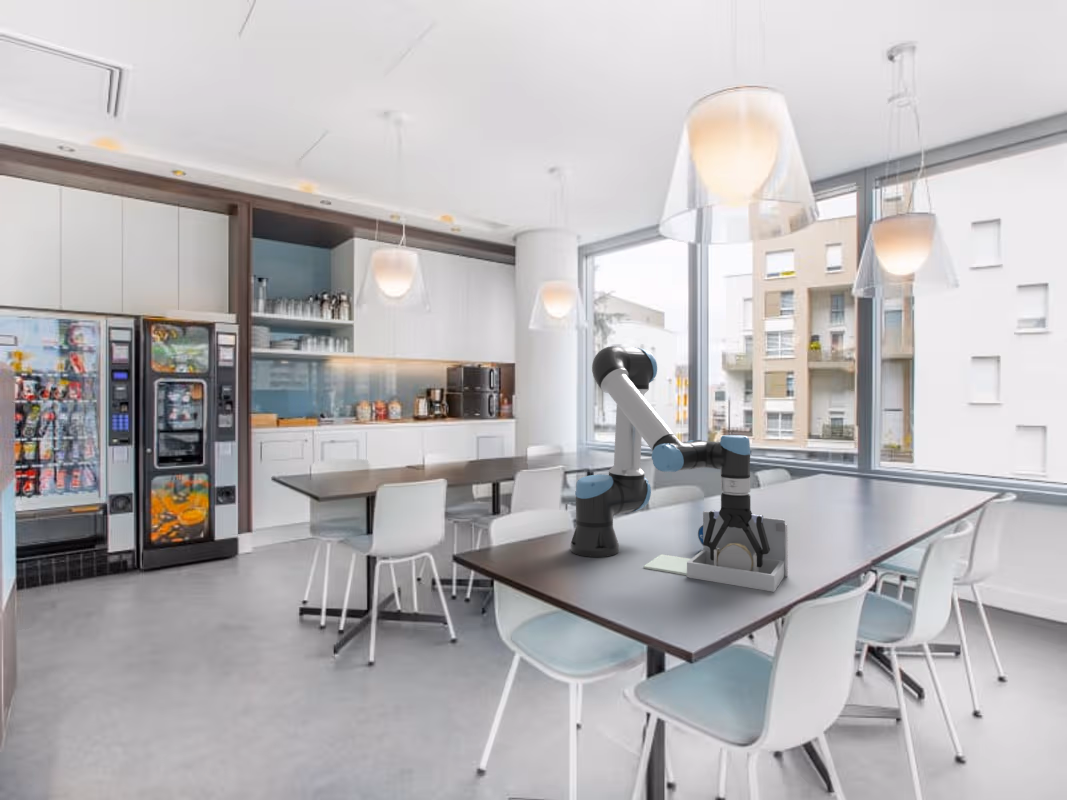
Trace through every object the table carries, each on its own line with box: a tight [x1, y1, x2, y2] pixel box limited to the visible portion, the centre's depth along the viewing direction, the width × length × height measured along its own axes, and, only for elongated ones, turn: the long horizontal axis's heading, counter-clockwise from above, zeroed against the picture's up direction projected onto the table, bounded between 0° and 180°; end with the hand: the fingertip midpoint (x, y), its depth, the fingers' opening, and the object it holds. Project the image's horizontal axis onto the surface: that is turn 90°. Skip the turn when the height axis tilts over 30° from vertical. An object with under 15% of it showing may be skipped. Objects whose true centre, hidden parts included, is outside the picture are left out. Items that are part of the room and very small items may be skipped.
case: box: [686, 510, 789, 593], centre depth 154 cm, size 23×16×15 cm
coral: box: [717, 543, 753, 571], centre depth 153 cm, size 10×10×10 cm
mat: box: [643, 553, 706, 576], centre depth 164 cm, size 14×14×1 cm
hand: (736, 575), depth 153 cm, fingers closed on coral, 10 cm apart
